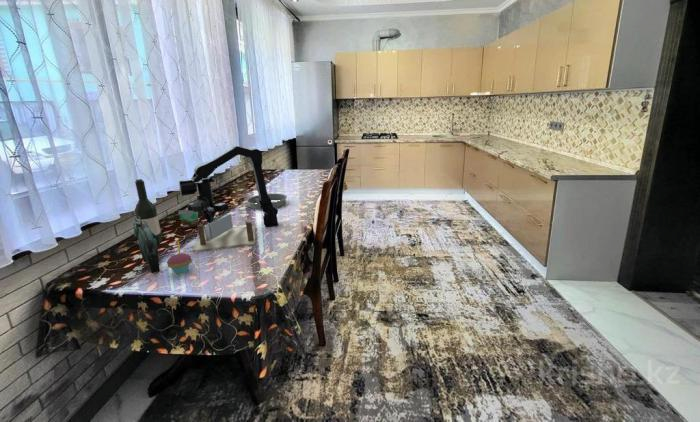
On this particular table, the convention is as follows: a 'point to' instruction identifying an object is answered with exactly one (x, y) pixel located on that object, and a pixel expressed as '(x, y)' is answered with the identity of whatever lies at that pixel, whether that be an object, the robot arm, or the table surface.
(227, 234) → the base board
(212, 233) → the gate
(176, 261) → the cupcake
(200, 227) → the hinge post
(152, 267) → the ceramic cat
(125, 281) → the table surface
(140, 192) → the wine bottle
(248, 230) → the latch post
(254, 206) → the cake pan
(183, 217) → the food container
